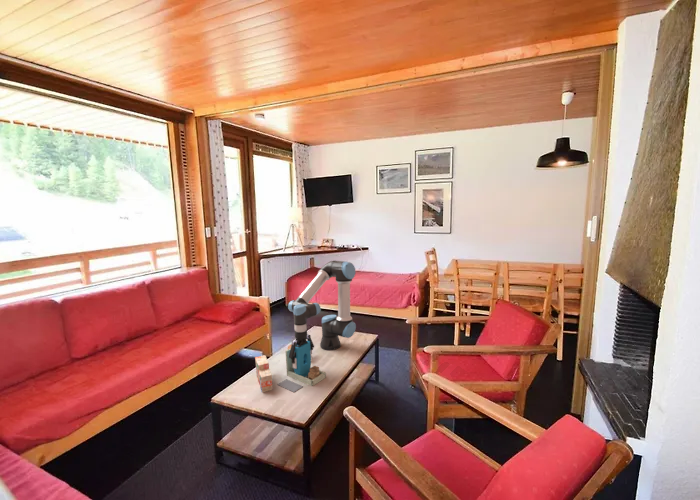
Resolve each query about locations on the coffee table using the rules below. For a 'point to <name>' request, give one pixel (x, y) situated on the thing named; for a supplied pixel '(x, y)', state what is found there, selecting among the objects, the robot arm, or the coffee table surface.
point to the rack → (298, 377)
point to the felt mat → (290, 385)
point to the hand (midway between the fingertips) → (302, 363)
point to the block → (303, 359)
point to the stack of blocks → (263, 373)
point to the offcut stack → (313, 372)
